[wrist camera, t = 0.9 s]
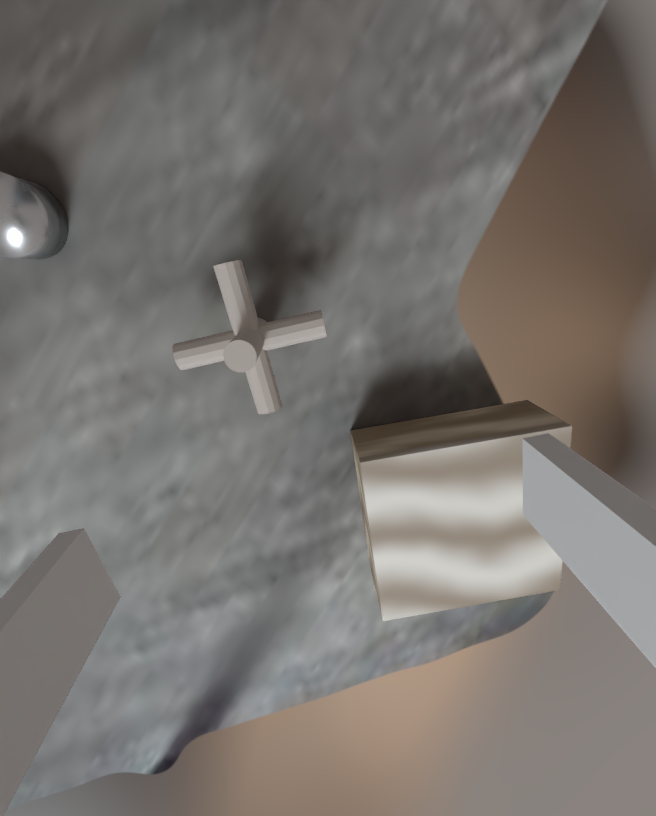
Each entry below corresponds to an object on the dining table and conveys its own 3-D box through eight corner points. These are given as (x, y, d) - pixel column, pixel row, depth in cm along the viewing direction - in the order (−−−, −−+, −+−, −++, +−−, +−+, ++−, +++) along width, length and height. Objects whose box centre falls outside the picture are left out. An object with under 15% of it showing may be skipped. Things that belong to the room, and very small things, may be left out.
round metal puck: (-21, 186, 26) (-60, 176, 23) (52, 174, 26) (22, 163, 23) (11, 264, 28) (-21, 263, 25) (80, 252, 28) (55, 251, 25)
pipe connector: (217, 401, 32) (182, 455, 23) (175, 279, 29) (114, 283, 19) (333, 374, 32) (346, 418, 23) (305, 248, 29) (307, 239, 19)
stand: (350, 430, 34) (360, 462, 28) (527, 400, 34) (572, 426, 28) (371, 570, 39) (382, 621, 34) (523, 544, 40) (560, 589, 34)
